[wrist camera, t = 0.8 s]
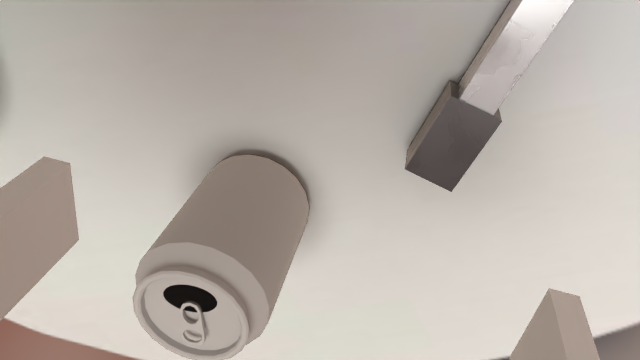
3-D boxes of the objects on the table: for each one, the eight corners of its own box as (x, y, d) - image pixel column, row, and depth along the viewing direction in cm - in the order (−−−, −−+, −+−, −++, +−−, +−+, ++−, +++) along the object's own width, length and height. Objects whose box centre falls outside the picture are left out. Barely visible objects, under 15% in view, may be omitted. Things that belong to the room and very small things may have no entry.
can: (309, 151, 33) (250, 272, 23) (314, 243, 37) (266, 383, 27) (201, 145, 35) (101, 256, 25) (216, 234, 39) (136, 363, 28)
